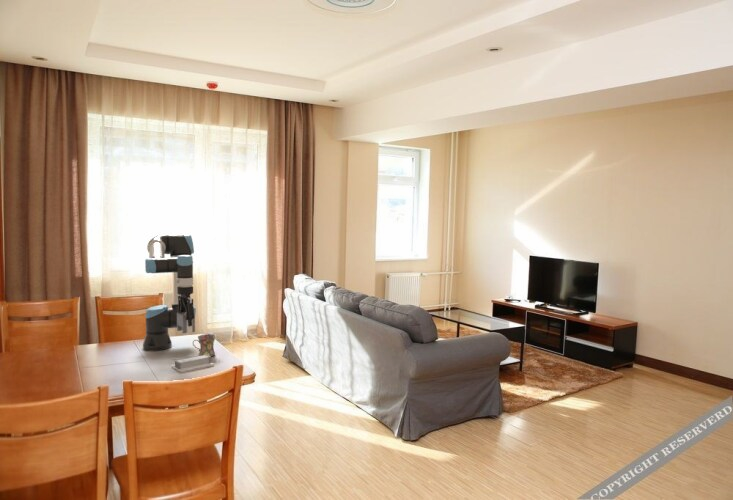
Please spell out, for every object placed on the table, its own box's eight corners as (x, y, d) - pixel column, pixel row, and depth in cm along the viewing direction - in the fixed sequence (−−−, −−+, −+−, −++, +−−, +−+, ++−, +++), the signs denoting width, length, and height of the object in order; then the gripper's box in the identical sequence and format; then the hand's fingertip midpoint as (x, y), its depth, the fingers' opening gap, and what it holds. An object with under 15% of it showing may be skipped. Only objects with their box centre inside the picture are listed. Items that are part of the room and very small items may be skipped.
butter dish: (172, 367, 262) (171, 359, 261) (204, 360, 273) (204, 352, 273) (181, 372, 254) (180, 364, 253) (213, 365, 265) (213, 357, 265)
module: (177, 330, 264) (176, 312, 263) (188, 328, 268) (188, 311, 267) (183, 333, 258) (182, 314, 257) (194, 331, 262) (194, 313, 261)
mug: (214, 352, 288) (214, 333, 287) (217, 357, 280) (217, 337, 279) (191, 354, 283) (191, 335, 282) (193, 359, 275) (193, 339, 274)
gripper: (170, 284, 267) (171, 328, 268) (186, 289, 251) (186, 335, 253) (184, 283, 272) (185, 326, 273) (201, 287, 256) (201, 333, 258)
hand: (186, 330), depth 263 cm, fingers closed on module, 8 cm apart
